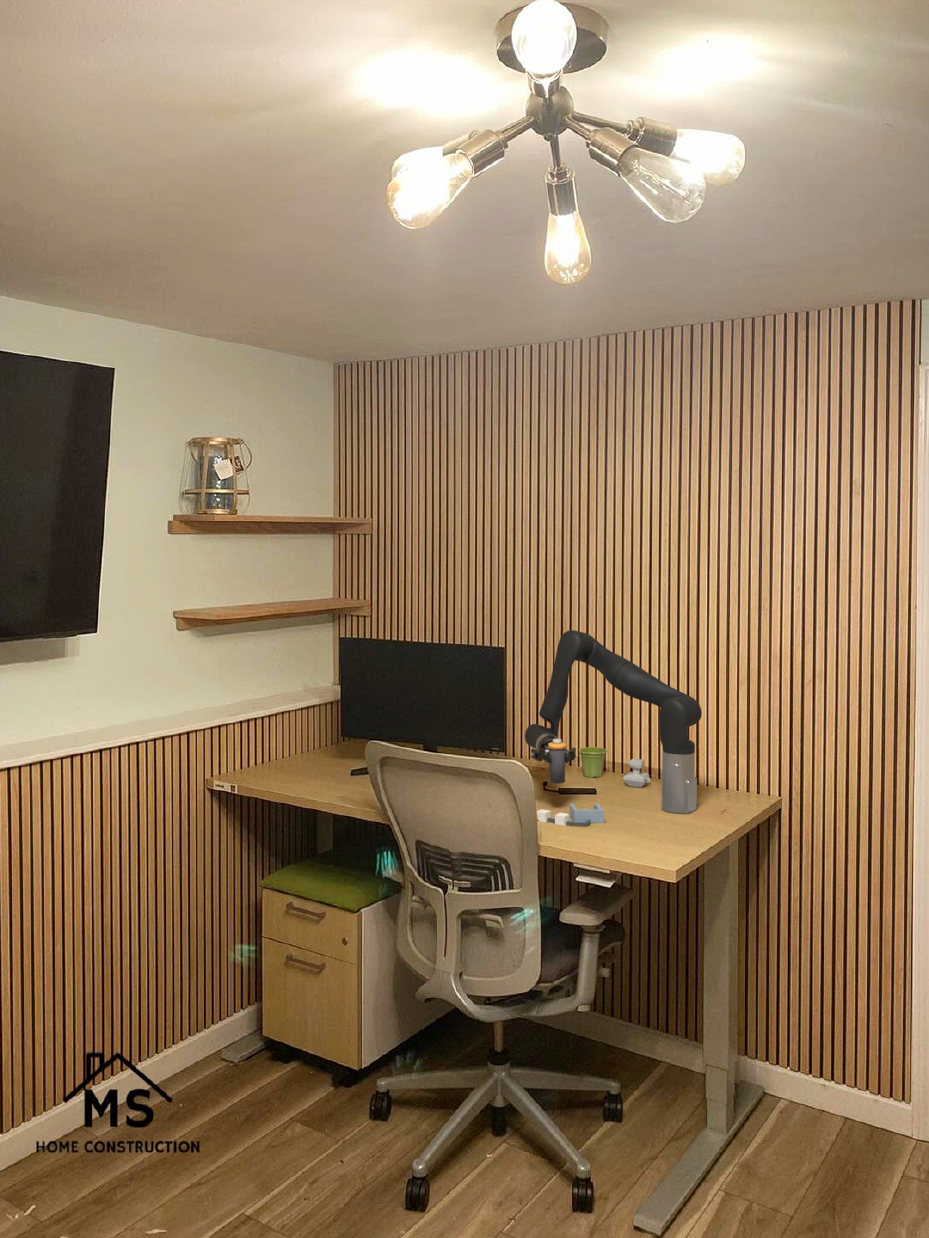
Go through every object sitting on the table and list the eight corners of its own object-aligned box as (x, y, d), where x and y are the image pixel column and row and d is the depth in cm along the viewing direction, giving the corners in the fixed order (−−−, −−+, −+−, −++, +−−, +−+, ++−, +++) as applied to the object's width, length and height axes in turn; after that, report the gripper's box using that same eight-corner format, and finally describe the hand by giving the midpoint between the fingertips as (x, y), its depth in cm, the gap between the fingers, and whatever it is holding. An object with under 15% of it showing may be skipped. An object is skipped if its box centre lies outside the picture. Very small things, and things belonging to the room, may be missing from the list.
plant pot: (598, 780, 330) (598, 754, 329) (573, 776, 335) (573, 750, 335) (612, 775, 337) (612, 749, 336) (587, 770, 343) (587, 745, 342)
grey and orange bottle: (569, 780, 293) (568, 738, 292) (560, 784, 289) (560, 741, 288) (554, 778, 296) (554, 737, 295) (545, 782, 292) (545, 739, 291)
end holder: (569, 814, 290) (569, 802, 289) (597, 814, 290) (598, 802, 290) (574, 823, 281) (574, 810, 281) (604, 822, 282) (604, 810, 282)
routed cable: (593, 823, 281) (593, 814, 281) (581, 829, 275) (581, 820, 275) (547, 814, 290) (547, 805, 289) (534, 820, 284) (534, 811, 284)
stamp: (620, 787, 321) (620, 760, 321) (625, 782, 327) (626, 756, 327) (647, 790, 318) (648, 763, 317) (653, 785, 324) (653, 759, 323)
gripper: (526, 736, 306) (534, 747, 289) (572, 734, 307) (583, 746, 290) (526, 760, 306) (534, 773, 289) (572, 759, 307) (583, 771, 290)
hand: (558, 759), depth 290 cm, fingers closed on grey and orange bottle, 4 cm apart
